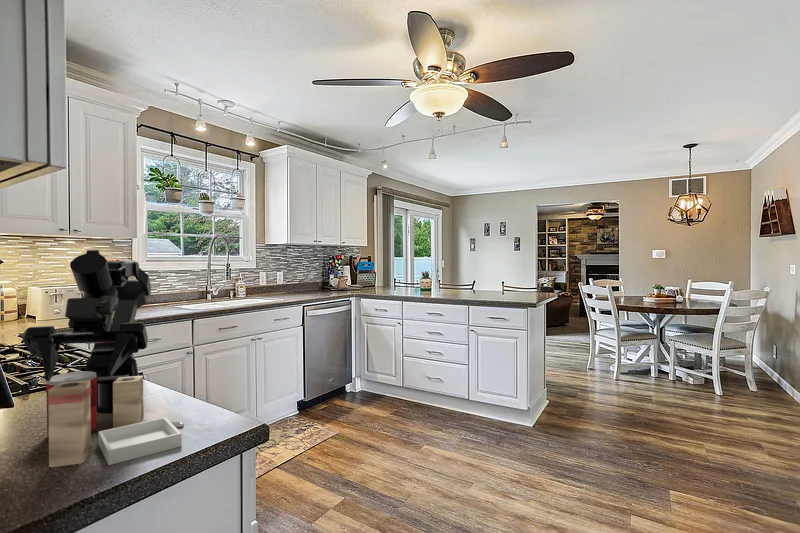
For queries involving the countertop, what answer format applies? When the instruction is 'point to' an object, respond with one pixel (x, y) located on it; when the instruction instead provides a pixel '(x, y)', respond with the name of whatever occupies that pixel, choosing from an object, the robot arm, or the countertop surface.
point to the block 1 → (69, 423)
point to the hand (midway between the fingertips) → (79, 377)
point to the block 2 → (127, 401)
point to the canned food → (72, 378)
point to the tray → (138, 440)
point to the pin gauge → (175, 424)
